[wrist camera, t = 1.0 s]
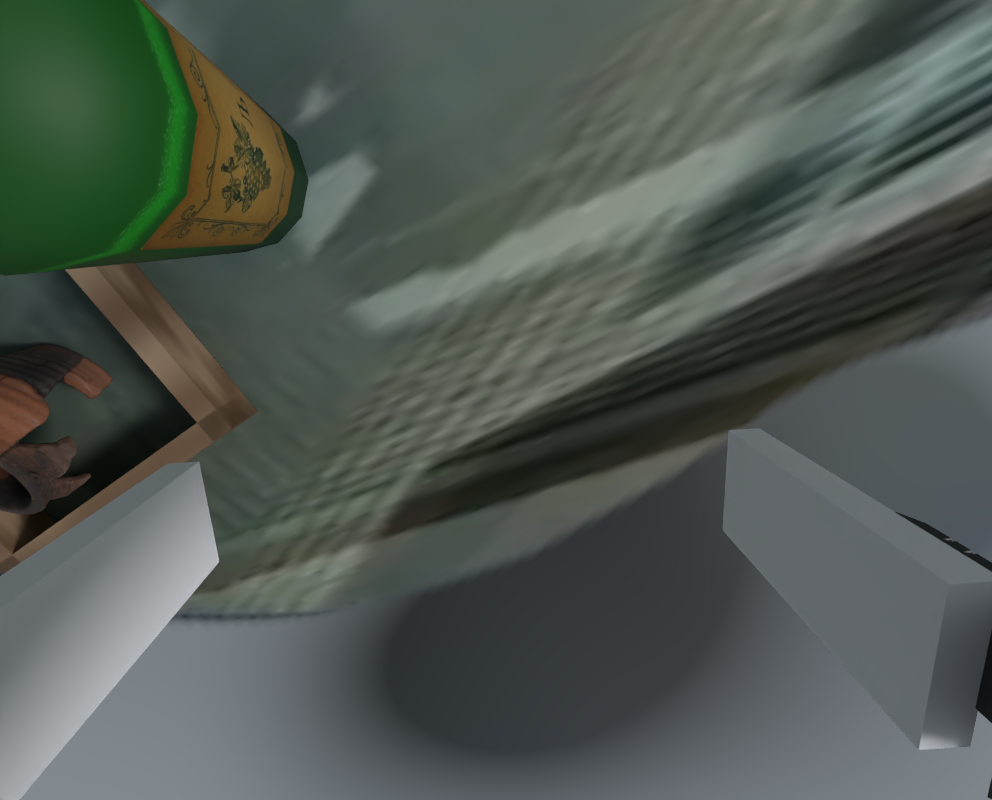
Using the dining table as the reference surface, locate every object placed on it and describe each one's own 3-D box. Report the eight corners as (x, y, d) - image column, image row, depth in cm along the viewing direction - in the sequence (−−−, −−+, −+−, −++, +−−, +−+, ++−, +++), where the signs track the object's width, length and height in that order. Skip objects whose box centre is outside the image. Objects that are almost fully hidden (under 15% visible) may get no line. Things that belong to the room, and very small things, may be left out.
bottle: (360, 214, 35) (-60, 46, 8) (221, 299, 36) (-589, 416, 9) (261, 48, 32) (-872, -1068, 5) (115, 143, 33) (-1473, -373, 6)
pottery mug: (162, 396, 37) (74, 491, 31) (117, 451, 42) (35, 541, 36) (-28, 273, 33) (-174, 358, 26) (-52, 352, 38) (-179, 437, 32)
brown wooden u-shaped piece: (-145, 347, 36) (-221, 358, 32) (65, 178, 34) (11, 167, 30) (58, 552, 40) (13, 583, 36) (257, 411, 38) (232, 428, 34)
